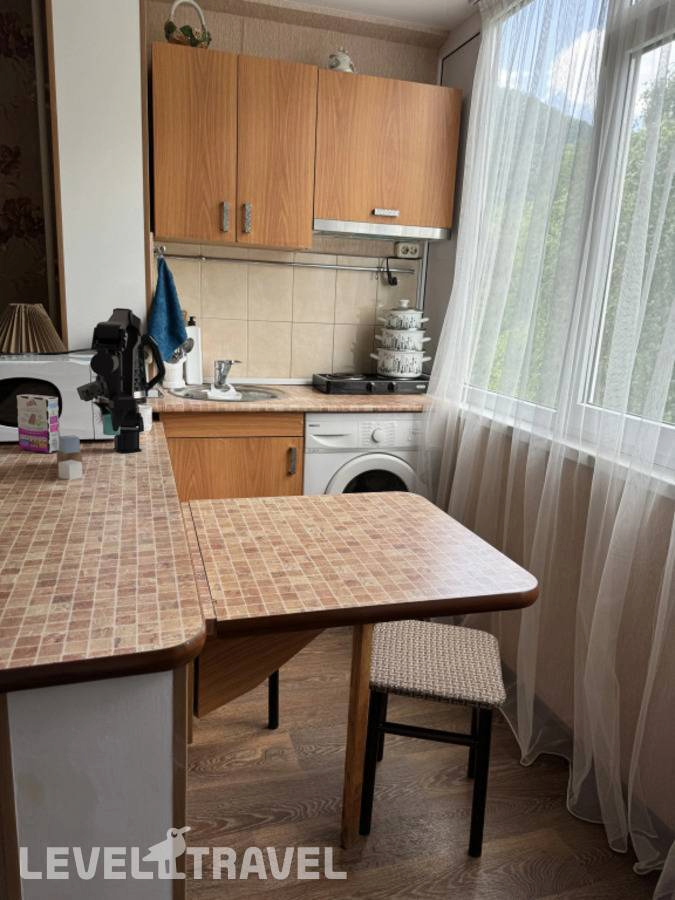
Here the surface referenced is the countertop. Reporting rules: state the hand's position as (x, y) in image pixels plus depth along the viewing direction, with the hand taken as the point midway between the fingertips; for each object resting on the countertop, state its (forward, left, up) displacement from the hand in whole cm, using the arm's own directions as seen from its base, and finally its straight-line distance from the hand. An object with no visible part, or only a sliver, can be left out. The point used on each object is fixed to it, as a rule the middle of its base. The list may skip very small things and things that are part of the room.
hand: (111, 429), depth 173 cm
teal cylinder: (0, 0, -1) cm, 1 cm away
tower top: (+8, -10, -7) cm, 15 cm away
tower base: (+8, -10, -11) cm, 17 cm away
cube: (+12, +2, -11) cm, 17 cm away
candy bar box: (+9, -31, -11) cm, 34 cm away
